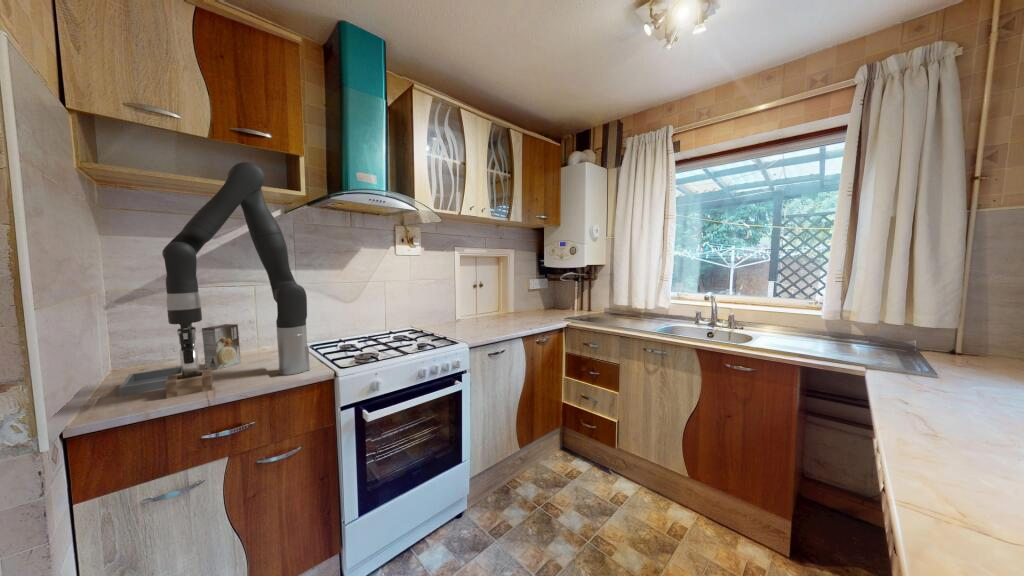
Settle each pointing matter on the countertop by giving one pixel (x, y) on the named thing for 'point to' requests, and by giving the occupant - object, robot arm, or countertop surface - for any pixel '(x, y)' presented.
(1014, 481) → the countertop surface
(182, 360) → the pin
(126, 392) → the tray
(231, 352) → the coffee box
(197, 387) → the pin block
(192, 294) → the robot arm
